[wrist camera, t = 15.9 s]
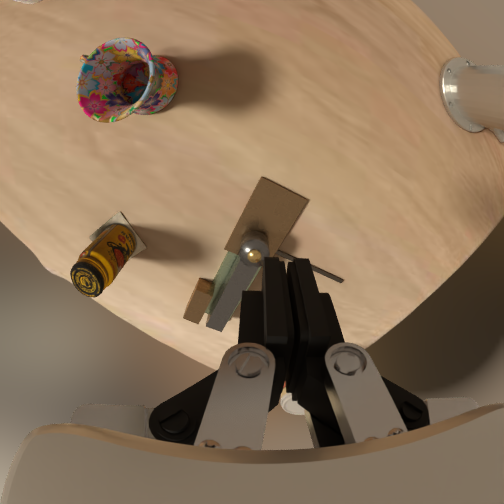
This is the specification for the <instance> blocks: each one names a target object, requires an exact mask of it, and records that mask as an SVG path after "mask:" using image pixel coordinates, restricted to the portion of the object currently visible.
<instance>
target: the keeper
mask: <svg viewBox="0 0 504 504" xmlns="http://www.w3.org/2000/svg"><path fill="white" fill-rule="evenodd" d="M237 256H238V255H236V254H234V253H232V252H229V251H228V253H227V255H226V257H225V258H224V260H223V262H222V264H221V266H220V268H219V270H218V272H217V274H216V276H215V278H214V280H213V282H212V283H211V282H209V281H206V280H204V279H201V278H199V280H198V282H197V284H196V287H195V289H194V291H193V293H192V295H191V298H190V300H189V302H188V304H187V307H186V310H185V313H184V316H183V318H184V319H186V320H189V321H191V322H194V323H197V324H199V322H200V320H201V318H202V316H203V314H204V313H207V314H208V313H209V311H210V309H211V307H212V305H213V303H214V301H215V299H216V297H217V295H218V293H219V291H220V289H221V288H222V286H223V284H224V282H225V280H226V278H227V276H228V274H229V272H230V270H231V268H232V266H233V264H234V262H235V260H236V258H237ZM261 267H262V266H261ZM261 267H259V268H258V270H257V272H256V274H255V275H254V277H253V279H252V281H251V282H250V284H249V286H248V287H247V289H246V291H247V290H248V288H249V287H250V285H251V284H252V282H253V280H254V279H255V277H256V275H257V274H258V272H259V270H260V269H261ZM241 299H242V298H241ZM241 299H240V301H241ZM240 301H239V303H240ZM239 303H238V305H239ZM238 305H237V306H238ZM237 306H236V308H237ZM236 308H235V310H236ZM235 310H234V311H235ZM234 311H233V313H234ZM233 313H232V314H233ZM231 316H232V315H231ZM230 318H231V317H230ZM230 318H229V319H230ZM228 321H229V320H228Z"/></svg>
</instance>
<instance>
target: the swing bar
mask: <svg viewBox="0 0 504 504" xmlns="http://www.w3.org/2000/svg"><path fill="white" fill-rule="evenodd" d="M269 256H270V253H269V241H268V239H267V237H266V236H265V235H264V234H263V233H261V232H258V231H251V232H248V233H246V234H245V235H244V236H243V238H242V240H241V245H240V252H239V254H238V256H237V258H236V260H235V262H234V264H233V266H232V268H231V270H230V272H229V274H228V276H227V278H226V280H225V282H224V284H223V286H222V288H221V289H220V291H219V293H218V295H217V297H216V299H215V301H214V303H213V305H212V307H211V309H210V311H209V313H208V318H207V322H206V327H209V328H212V329H215V330H217V331H220V332H222V330H223V328H224V327H225V325H226V323H227V322H228V320H229V318H230V317H231V315H232V313H233V311H234V310H235V308H236V306H237V305H238V303H239V301H240V299H241V298H242V290H244V291H246V289H247V287H248V286H249V284H250V282H251V281H252V279H253V277H254V275H255V274H256V272H257V270H258V268H259V267H261V266H263V262H264V257H269Z"/></svg>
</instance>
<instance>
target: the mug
mask: <svg viewBox="0 0 504 504" xmlns="http://www.w3.org/2000/svg"><path fill="white" fill-rule="evenodd" d="M80 61H81V62H82V63H84V64H83V66H82V68H81V70H80V73H79V76H78V81H77V98H78V101H79V104H80V106H81V108H82V110H83V111H84V112H85V114H86V115H88V116H89V117H90V118H92V119H93V120H96V121H99V122H105V123H109V122H115V121H119V120H122V119H124V118H126V117H128V116H129V115H131V114H132V113H135V114H139V115H149V114H153V113H155V112H158V111H160V110H161V109H163V108H164V107H165V106H166V105H167V104H168V103H169V102H170V101H171V100H172V98H173V97H174V95H175V92H176V90H177V86H178V75H177V71H176V69H175V67H174V65H173V64H172V63H171V62H170V61H169V60H167V59H166V58H164V57H161V56H156V55H152V54H151V52H150V50H149V49H148V48H147V47H146V46H145V45H144V44H143V43H142V42H140V41H138V40H136V39H132V38H117V39H113V40H110V41H108V42H106V43H104V44H102V45H101V46H99V47H98V48H97V49H96V50H94V51H93V52H92V53H91V54H90V56H88V55H82V56H81V57H80Z"/></svg>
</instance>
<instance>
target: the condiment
mask: <svg viewBox="0 0 504 504" xmlns="http://www.w3.org/2000/svg"><path fill="white" fill-rule="evenodd" d="M89 238H90V239H91V241H93V242H92V243H91V244H90V245H89V246H88V247H87V248H86V249H85V250H84V251H83V252H82V253H81V254H80V256H79V259H78V261H77V263H76V264H75V265H74V266H73V267H72V269H71V273H70V275H71V279H72V282H73V284H74V286H75V287H76V288H77V289H78V291H80V292H81V293H82V294H84V295H86V296H88V297H97V296H99V295H100V294H101V293H102V292H103V290H104V289H105V288H106V287H108V286H109V285H110V284H111V283H112V282H113V280H114V279H115V277H116V276H117V275H118V273H119V272H120V271H121V269H122V268H123V267H124V265H125V264H126V262H127V261H128V260H129V259H131V258H132V257H134V256H135V255H137V254H138V253H140V252H141V251H143V250H144V249H146V248H147V247H146V246H145V245H144V243H143V242H142V241H141V239H140V238H139V236H138V235H137V234H136V232H135V231H134V230H133V229H132V227H131V226H130V225H129V223H128V222H127V221H126V220H125V218H124V217H123V216H122V214H121V213H120V212H118V213H117V214H116V215H115V216H113V217H112V218H111V219H110V220H108V221H107V222H106V223H105V224H104V225H103V226H101V227H100V228H99V229H98V230H97V231H95V232H94V233H93V234H92V235H91V236H90V237H89Z"/></svg>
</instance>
